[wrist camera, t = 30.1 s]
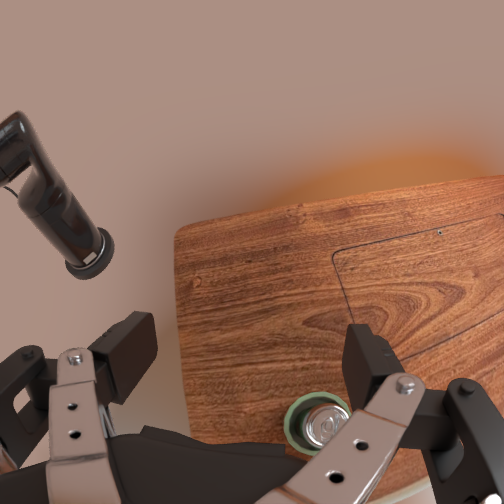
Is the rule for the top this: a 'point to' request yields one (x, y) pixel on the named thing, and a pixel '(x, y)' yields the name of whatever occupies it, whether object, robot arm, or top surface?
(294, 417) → the can holder
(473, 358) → the top surface
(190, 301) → the top surface
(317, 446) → the soda can
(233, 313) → the top surface
